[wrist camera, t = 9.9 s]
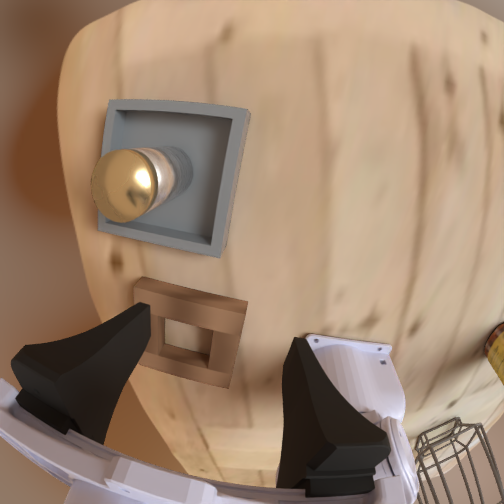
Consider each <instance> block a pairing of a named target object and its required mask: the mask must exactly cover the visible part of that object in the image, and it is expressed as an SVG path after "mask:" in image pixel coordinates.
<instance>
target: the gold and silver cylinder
mask: <svg viewBox="0 0 504 504" xmlns="http://www.w3.org/2000/svg"><path fill="white" fill-rule="evenodd" d="M192 179H193V165H192V162H191V160H190V158H189V156H188V155H187V154H186V153H185V152H184V151H183V150H181V149H179V148H177V147H172V146H165V147H146V148H132V149H120V150H113V151H111V152H108V153H107V154H105V155H104V156H103V157H102V158H101V159H100V160H99V161H98V162H97V164H96V166H95V168H94V170H93V173H92V178H91V191H92V196H93V199H94V202H95V204H96V206H97V208H98V209H99V211H100V212H101V213H102V214H103V215H104V216H105V217H107V218H108V219H110V220H112V221H115V222H120V223H125V222H129V221H132V220H134V219H136V218H138V217H139V216H141V215H143V214H145V213H147V212H149V211H151V210H152V209H154V208H156V207H158V206H160V205H162V204H164V203H166V202H168V201H170V200H172V199H174V198H176V197H178V196H179V195H181V194H183V193H184V192H185V191H186V190H187V189H188V188H189V186H190V184H191V182H192Z"/></svg>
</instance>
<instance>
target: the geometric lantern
mask: <svg viewBox="0 0 504 504" xmlns="http://www.w3.org/2000/svg"><path fill="white" fill-rule="evenodd" d="M457 419H458V420H457ZM454 420H456V422H457V423H456V425H455V427H454V428H452V429H450V430H448V431H446V432H444V433H442V434H440V435H438V436H436V437H434V438H431V439H429V440H428V438H427V436H426V433H428V432H430V431H433V430H435V429H437V428H439V427H442V426H444V425H446V424H448V423H450V422H452V421H454ZM459 422H460V424H459ZM457 424H458V426H457ZM462 426H466V427H468V428H466V429H464V430H462V431H461V428H462ZM477 426H478V427H477ZM458 427H460V429H459V431H458V433H456V434H454V431H455V429H456V428H458ZM473 427H474V428H475V430H476V431H475V432H474V434H473V436H472V437H471V439H470V440H469V442H468V444H467V445H466V446H465V445H464V444H462V443H461V442H459V441H458V440H457V438H458V436H459V435H460V434H462V433H464V432H466V431H468V430H470V429H472V428H473ZM479 428H481V431H482V433H483V436H484V439H485V441H486V444H487V447H488V450H489V452H488V450H487V447H486V445H485V442H484V440H483V438H482V436H481V434H480V431H479ZM452 430H453V432H452V433H451V434H450V435H449V436H448V437H446V438H443V439H441V440H439V441H437V442H435V443H433V444H430V445H429V441H431V440H433V439H436V438H438V437H440V436H442V435H444V434H446V433H448V432H450V431H452ZM476 433H477V435H478V437H479V439H480V441H481V443H482V446H483V448H484V450H485V453H486V456H487V458H488V460H489V463H490V466H491V468H492V471H493V474H494V477H495V479H496V483H497V485H498V489H499V492H500V495H501V498H502V501H500V502H499V503H497V504H501V503H502V502H503V504H504V489H503V486H502V482H501V478H500V474H499V471H498V468H497V464H496V461H495V458H494V455H493V452H492V449H491V446H490V443H489V441H488V438H487V436H486V433H485V430H484V428H483V425H482V423H476V424H462V422H461V419H460V417H457V418H454V419H452V420H450V421H448V422H446V423H444V424H442V425H440V426H437V427H435V428H433V429H431V430H428V431H426V432H423V433H422V434H421V435H420V436H419V439H418V443H417V447H416V451H417V452H418V456H417V457H416V459H415V465H416V464H417V462H418V461H419V463H420V465H419V468H418V471H417V472H416V473H417V476H418V480H419V483H420V486H421V490H422V493H423V496H424V500H425V503H426V504H429V503H428V500H427V496H426V493H425V490H424V486H423V483H422V480H421V476H420V473H421V472H424V474H425V477H426V479H427V482H428V484H429V487H430V490H431V492H432V495H433V498H434V500H435V503H436V504H439V501H438V498H437V496H436V493H435V490H434V488H433V485H432V483H431V480H430V478H429V475H428V473H427V470H428V469H430V468H432V467H434V466H437V469H438V472H439V474H440V477H441V480H442V482H443V486H444V488H445V491H446V494H447V497H448V500H449V503H450V504H453V501H452V498H451V495H450V492H449V489H448V486H447V483H446V481H445V478H444V475H443V472H442V470H441V467H440V464H441V463H443V462H445V461H447V460H449V459H451V458H453V457H455V456H456V459H457V462H458V465H459V467H460V470H461V473H462V476H463V479H464V482H465V485H466V488H467V491H468V494H469V498H470V502H471V504H474V503H473V499H472V495H471V492H470V489H469V486H468V482H467V479H466V476H465V473H464V471H463V468H462V465H461V462H460V460H459V457H458V454H459V453H461V452H462V451H464V450H465V449H466V451H467V455H468V458H469V461H470V464H471V467H472V470H473V474H474V477H475V481H476V484H477V488H478V492H479V496H480V500H481V504H484V500H483V496H482V492H481V488H480V485H479V481H478V477H477V474H476V471H475V468H474V464H473V462H472V458H471V455H470V452H469V449H468V446H469V444H470V443H471V441H472V440H473V438H474V437H475V435H476ZM452 434H453V435H452ZM423 435H424V437H425V439H426V442H423V440H422V436H423ZM451 435H452V436H451ZM452 438H455V440H453V441H452ZM420 440H421V443H422V447H421V448H420V449H418V446H419V442H420ZM448 440H450V441H451V442H450V443H449V444H447V445H445V446H443V447H441V448H439V449H437V450H435V451H434V450H433V447H434V446H437V445H439V444H441V443H443V442H446V441H448ZM455 441H456V442H457V443H459V444H460V445H462V446H463V447H464V448H463V449H462V450H460V451H459V452H456V449H455V446H454V443H453V442H455ZM426 443H427V446H426V447H424V446H425V444H426ZM450 444H452V446H453V449H454V452H455V454H454V455H452V456H450V457H448V458H446V459H444V460H442V461H440V462H438V459H437V457H436V454H435V452H437V451H439V450H440V449H442V448H444V447H446V446H448V445H450ZM425 448H426V449H425ZM423 449H425V450H424V451H423ZM429 449H430V451H431V453H429V454H427V455H425V456H424V453H425V452H426V451H427V450H429ZM419 450H420V452H419ZM489 453H490V455H489ZM430 454H432V456H433V459H434V461H435V464H434V465H431V466H429V467H427V468H425V466H424V463H423V461H422V460H423V458H424V457H426V456H428V455H430ZM490 456H491V457H490ZM420 467H422V470H420ZM419 470H420V471H419ZM417 499H418V501H419V504H423V503H422V501H421V498H420V495H419V493H417Z"/></svg>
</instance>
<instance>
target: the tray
mask: <svg viewBox="0 0 504 504" xmlns="http://www.w3.org/2000/svg"><path fill="white" fill-rule="evenodd" d="M250 116H251V113H250V112H249V110H248V109H244V108H237V107H230V106H223V105H215V104H206V103H196V102H184V101H169V100H141V99H120V100H109V103H108V109H107V115H106V121H105V128H104V135H103V143H102V152H101V158H102V157H103V156H104V155H105V154H107V153H108V152H111V151H113V150H120V149H132V148H146V147H165V146H172V147H177V148H179V149H181V150H183V151H184V152H185V153H186V154H187V155H188V156H189V158H190V160H191V162H192V165H193V179H192V182H191V184H190V186H189V188H188V189H187V190H186V191H185V192H184V193H183V194H181V195H179V196H178V197H176V198H174V199H172V200H170V201H168V202H166V203H164V204H162V205H160V206H158V207H156V208H154V209H152V210H151V211H149V212H147V213H145V214H143V215H141V216H139V217H138V218H136V219H134V220H132V221H129V222H125V223H120V222H115V221H112V220H110V219H108V218H107V217H105V216H104V215H103V214H102V213H101V212H100V211H99V209H98V231H102V232H106V233H110V234H115V235H119V236H123V237H127V238H132V239H136V240H140V241H145V242H149V243H154V244H158V245H162V246H167V247H171V248H176V249H180V250H185V251H189V252H194V253H198V254H203V255H207V256H212V257H216V258H220V257H221V255H222V253H223V251H224V249H225V247H226V244H227V238H228V232H229V226H230V220H231V215H232V209H233V204H234V198H235V193H236V187H237V182H238V177H239V171H240V166H241V161H242V156H243V151H244V145H245V140H246V135H247V130H248V125H249V121H250Z"/></svg>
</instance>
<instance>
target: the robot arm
mask: <svg viewBox="0 0 504 504" xmlns="http://www.w3.org/2000/svg"><path fill="white" fill-rule="evenodd" d="M150 337H151V310H150V305H149V304H145V303H142V302H139V303H137V304H135V305H133V306H132V307H130V308H129V309H127V310H125V311H124V312H122V313H120V314H119V315H117V316H115V317H114V318H112V319H110V320H108V321H106V322H104V323H103V324H101V325H99V326H97V327H95V328H93V329H91V330H88V331H86V332H84V333H81V334H78V335H75V336H72V337H69V338H65V339H62V340H58V341H54V342H48V343H42V344H32V345H25V346H24V347H23V348H22V349H21V350H20V351H19V352H18V353H17V354H16V355H15V357H14V358H13V359H12V360H11V367H12V370H13V372H14V374H15V376H16V378H17V380H18V381H19V383H20V385H21V387H22V388H23V389H22V390H21V391H20V392H19V391H18V390H17V389H16V388H15V387H14V386H12V385H11V384H9V383H8V382H7V381H6V380H4V379H3V378H0V436H1V437H2V438H3V439H5V440H6V441H7V442H8V443H10V444H11V445H12V446H13V447H14V448H15V449H17V450H18V451H19V452H20V453H22V454H23V455H24V456H26V457H27V458H28V459H30V460H31V461H32V462H34V463H35V464H36V465H38V466H39V467H41V468H42V469H43V470H45V471H46V472H48V473H49V474H51V475H52V476H54V477H56V478H57V479H58V480H60V481H61V482H63V483H65V484H66V485H68V486H70V487H71V488H70V490H69V492H68V495H67V497H66V499H65V502H64V504H413V503H414V501H415V500H416V498H417V493H418V491H419V480H418V476H417V473H416V466H415V461H414V457H413V453H412V450H411V447H410V444H409V441H408V438H407V436H406V433H405V431H404V429H403V427H402V425H401V422H402V420H403V417H404V414H405V394H404V391H403V388H402V386H401V383H400V381H399V378H398V376H397V373H396V371H395V368H394V366H393V363H392V361H391V359H390V356H389V353H390V352H391V350H392V347H391V345H389V344H382V343H373V342H365V341H357V340H349V339H342V338H335V337H328V336H322V335H316V334H309V335H307V336H306V338H305V339H304V338H298V337H294V339H293V342H292V344H291V347H290V350H289V352H288V355H287V357H286V360H285V362H284V365H283V375H282V395H283V415H284V428H283V440H282V450H281V459H280V463H279V466H278V469H277V472H276V488H267V487H256V486H248V485H240V484H233V483H227V482H221V481H215V480H210V479H205V478H201V477H196V476H192V475H188V474H184V473H180V472H176V471H173V470H169V469H165V468H162V467H159V466H156V465H153V464H150V463H147V462H144V461H141V460H138V459H135V458H133V457H130V456H127V455H125V454H122V453H120V452H118V451H115V450H113V449H110V448H108V447H106V446H104V445H103V444H104V441H105V437H106V433H107V430H108V427H109V423H110V420H111V418H112V415H113V412H114V409H115V407H116V404H117V401H118V399H119V396H120V394H121V392H122V389H123V387H124V385H125V383H126V381H127V380H128V378H129V377H130V375H131V373H132V371H133V370H134V368H135V366H136V365H137V363H138V361H139V360H140V358H141V356H142V355H143V353H144V351H145V349H146V347H147V344H148V342H149V339H150ZM315 339H318V340H316V341H315ZM379 347H380V348H379ZM378 348H379V349H378Z"/></svg>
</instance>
